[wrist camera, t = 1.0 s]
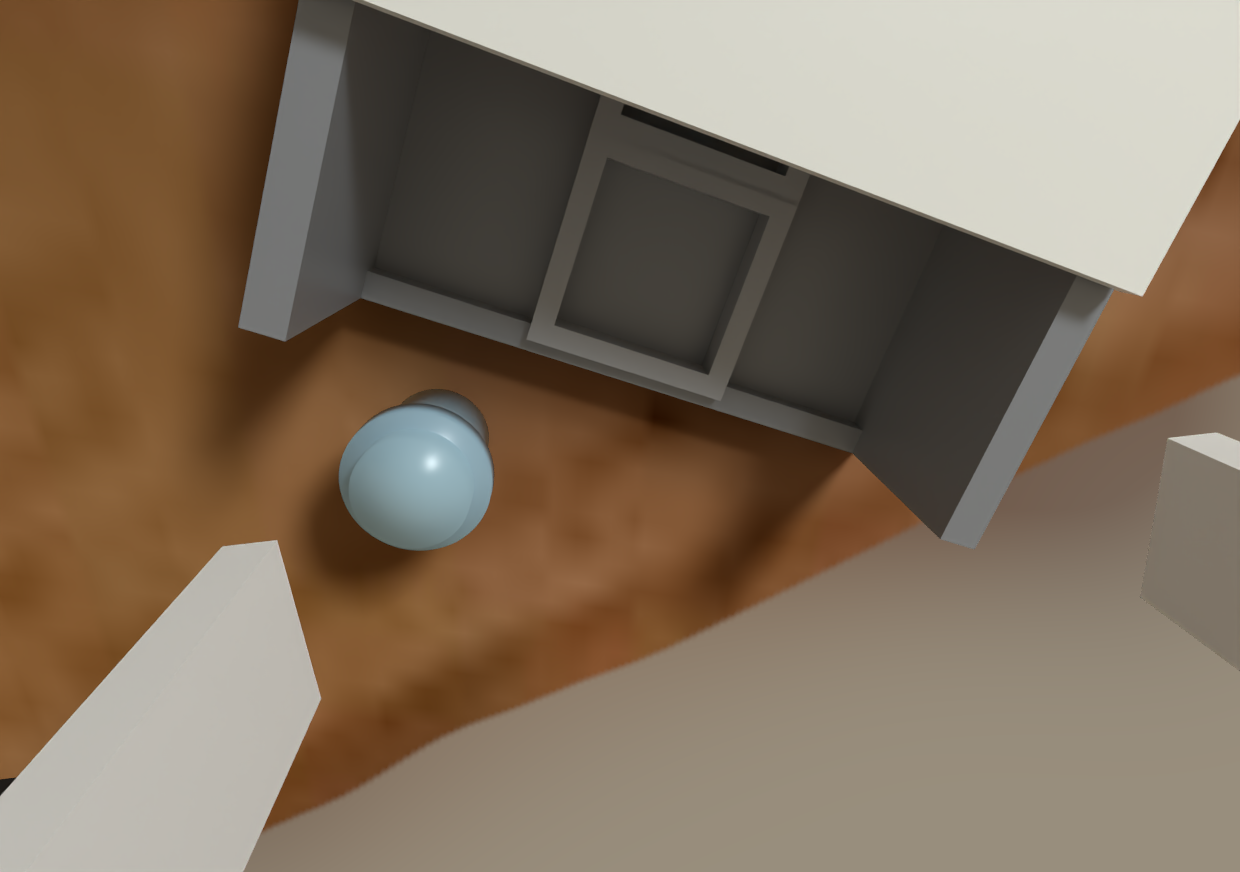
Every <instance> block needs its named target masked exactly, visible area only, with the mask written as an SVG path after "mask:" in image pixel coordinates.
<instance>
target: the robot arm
mask: <svg viewBox="0 0 1240 872" xmlns="http://www.w3.org/2000/svg"><path fill="white" fill-rule="evenodd" d="M1140 598H1142V599H1143V600H1144V601H1146V602H1147V603H1148V604H1150V605H1151V606H1153V607H1154V608H1155V609H1156V610H1158V611H1159V612H1161V613H1162V614H1163V615H1165V616H1166V617H1168V618H1169V619H1170V620H1171V621H1173V622H1174V623H1175V624H1177V625H1178V626H1179V627H1181V628H1182V629H1184V630H1185V631H1186V632H1188V633H1189V634H1190V635H1192V636H1193V637H1194V638H1196V639H1197V640H1199V641H1200V642H1201V643H1202V644H1204V645H1205V646H1207V647H1208V648H1209V649H1211V650H1212V651H1213V652H1215V653H1216V654H1217V655H1219V656H1220V657H1221V658H1223V659H1224V660H1225V661H1227V662H1228V663H1229V664H1231V665H1232V666H1234V667H1235V668H1236V669H1238V670H1239V671H1240V442H1239V441H1237V440H1234V439H1232V438H1229V437H1227V436H1224V435H1222V434H1219V433H1209V434H1200V435H1192V436H1182V437H1174V438H1168V439H1167V445H1166V450H1165V456H1164V462H1163V468H1162V474H1161V480H1160V485H1159V491H1158V497H1157V503H1156V508H1155V514H1154V520H1153V526H1152V532H1151V538H1150V543H1149V549H1148V555H1147V561H1146V567H1145V573H1144V578H1143V584H1142V591H1141V596H1140ZM320 700H321V697H320V693H319V689H318V686H317V682H316V679H315V675H314V671H313V668H312V664H311V661H310V657H309V653H308V650H307V646H306V643H305V639H304V635H303V632H302V628H301V625H300V621H299V617H298V614H297V610H296V607H295V603H294V599H293V596H292V592H291V589H290V585H289V581H288V578H287V574H286V571H285V567H284V563H283V560H282V556H281V553H280V549H279V545H278V542H277V540H275V541H266V542H258V543H249V544H240V545H232V546H223V547H221V549H220V550H219V551H218V552H217V553H216V554H215V555H214V556H213V558H212V559H211V560H210V561H209V562H208V563H207V564H206V565H205V567H204V568H203V569H202V570H201V571H200V572H199V573H198V574H197V576H196V577H195V578H194V579H193V580H192V581H191V582H190V583H189V585H188V586H187V587H186V588H185V589H184V590H183V591H182V592H181V594H180V595H179V596H178V597H177V598H176V599H175V600H174V601H173V603H172V604H171V605H170V606H169V607H168V608H167V609H166V610H165V612H164V613H163V614H162V615H161V616H160V617H159V618H158V619H157V621H156V622H155V623H154V624H153V625H152V626H151V627H150V628H149V630H148V631H147V632H146V633H145V634H144V635H143V636H142V637H141V639H140V640H139V641H138V642H137V643H136V644H135V645H134V646H133V647H132V649H131V650H130V651H129V652H128V653H127V654H126V655H125V656H124V658H123V659H122V660H121V661H120V662H119V663H118V664H117V665H116V667H115V668H114V669H113V670H112V671H111V672H110V673H109V674H108V676H107V677H106V678H105V679H104V680H103V681H102V682H101V683H100V685H99V686H98V687H97V688H96V689H95V690H94V691H93V692H92V694H91V695H90V696H89V697H88V698H87V699H86V700H85V701H84V703H83V704H82V705H81V706H80V707H79V708H78V709H77V710H76V712H75V713H74V714H73V715H72V716H71V717H70V718H69V719H68V721H67V722H66V723H65V724H64V725H63V726H62V727H61V728H60V730H59V731H58V732H57V733H56V734H55V735H54V736H53V737H52V739H51V740H50V741H49V742H48V743H47V744H46V745H45V746H44V748H43V749H42V750H41V751H40V752H39V753H38V754H37V755H36V757H35V758H34V759H33V760H32V761H31V762H30V763H29V764H28V765H27V767H26V768H25V769H24V770H23V771H22V772H21V773H20V774H19V776H18V777H17V778H9V779H1V780H0V872H243V871H244V869H245V867H246V865H247V862H248V860H249V858H250V856H251V854H252V851H253V849H254V847H255V844H256V842H257V840H258V838H259V836H260V834H261V831H262V829H263V827H264V825H265V822H266V820H267V818H268V816H269V813H270V811H271V809H272V807H273V805H274V802H275V800H276V798H277V796H278V793H279V791H280V789H281V787H282V784H283V782H284V780H285V778H286V776H287V773H288V771H289V769H290V767H291V764H292V762H293V760H294V758H295V756H296V753H297V751H298V749H299V747H300V744H301V742H302V740H303V738H304V735H305V733H306V731H307V729H308V727H309V724H310V722H311V720H312V718H313V715H314V713H315V711H316V709H317V707H318V704H319V702H320Z"/></svg>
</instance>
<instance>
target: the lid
mask: <svg viewBox="0 0 1240 872" xmlns="http://www.w3.org/2000/svg"><path fill="white" fill-rule="evenodd" d="M353 1H355V2H358V3H361V4H363V5H366V6H368V7H371V8H374V9H376V10H379V11H382V12H384V13H387V14H390V15H392V16H395V17H397V18H400V19H403V20H405V21H408V22H411V23H413V24H416V25H419V26H421V27H424V28H426V29H429V30H432V31H434V32H437V33H440V34H442V35H445V36H448V37H450V38H453V39H455V40H458V41H461V42H463V43H466V44H469V45H471V46H474V47H477V48H479V49H482V50H484V51H487V52H490V53H492V54H495V55H498V56H500V57H503V58H506V59H508V60H511V61H513V62H516V63H519V64H521V65H524V66H527V67H529V68H532V69H535V70H537V71H540V72H542V73H545V74H548V75H550V76H553V77H556V78H558V79H561V80H564V81H566V82H569V83H571V84H574V85H577V86H579V87H582V88H585V89H587V90H590V91H593V92H595V93H598V94H600V95H603V96H606V97H608V98H611V99H614V100H616V101H619V102H622V103H624V104H627V105H629V106H632V107H635V108H637V109H640V110H643V111H645V112H648V113H651V114H653V115H656V116H658V117H661V118H664V119H666V120H669V121H672V122H674V123H677V124H680V125H682V126H685V127H687V128H690V129H693V130H695V131H698V132H701V133H703V134H706V135H709V136H711V137H714V138H716V139H719V140H722V141H724V142H727V143H730V144H732V145H735V146H738V147H740V148H743V149H745V150H748V151H751V152H753V153H756V154H759V155H761V156H764V157H767V158H769V159H772V160H774V161H777V162H780V163H782V164H785V165H788V166H790V167H793V168H796V169H798V170H801V171H803V172H806V173H809V174H811V175H814V176H817V177H819V178H822V179H825V180H827V181H830V182H832V183H835V184H838V185H840V186H843V187H846V188H848V189H851V190H854V191H856V192H859V193H861V194H864V195H867V196H869V197H872V198H875V199H877V200H880V201H883V202H885V203H888V204H890V205H893V206H896V207H898V208H901V209H904V210H906V211H909V212H912V213H914V214H917V215H919V216H922V217H925V218H927V219H930V220H933V221H935V222H938V223H941V224H943V225H946V226H948V227H951V228H954V229H956V230H959V231H962V232H964V233H967V234H970V235H972V236H975V237H977V238H980V239H983V240H985V241H988V242H991V243H993V244H996V245H999V246H1001V247H1004V248H1006V249H1009V250H1012V251H1014V252H1017V253H1020V254H1022V255H1025V256H1028V257H1030V258H1033V259H1035V260H1038V261H1041V262H1043V263H1046V264H1049V265H1051V266H1054V267H1057V268H1059V269H1062V270H1064V271H1067V272H1070V273H1072V274H1075V275H1078V276H1080V277H1083V278H1086V279H1088V280H1091V281H1093V282H1096V283H1099V284H1101V285H1104V286H1107V287H1109V288H1112V289H1115V290H1117V291H1120V292H1124V293H1128V294H1133V295H1138V296H1143V294H1144V293H1145V291H1146V289H1147V287H1148V285H1149V283H1150V282H1151V280H1152V278H1153V276H1154V274H1155V273H1156V271H1157V269H1158V267H1159V265H1160V263H1161V262H1162V260H1163V258H1164V256H1165V254H1166V253H1167V251H1168V249H1169V247H1170V245H1171V243H1172V242H1173V240H1174V238H1175V236H1176V234H1177V233H1178V231H1179V229H1180V227H1181V225H1182V223H1183V222H1184V220H1185V218H1186V216H1187V214H1188V213H1189V211H1190V209H1191V207H1192V205H1193V203H1194V202H1195V200H1196V198H1197V196H1198V194H1199V192H1200V191H1201V189H1202V187H1203V185H1204V183H1205V182H1206V180H1207V178H1208V176H1209V174H1210V172H1211V171H1212V169H1213V167H1214V165H1215V163H1216V162H1217V160H1218V158H1219V156H1220V154H1221V152H1222V151H1223V149H1224V147H1225V145H1226V143H1227V142H1228V140H1229V138H1230V136H1231V134H1232V132H1233V131H1234V129H1235V127H1236V125H1237V123H1238V122H1239V120H1240V0H353Z"/></svg>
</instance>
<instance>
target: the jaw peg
mask: <svg viewBox="0 0 1240 872" xmlns="http://www.w3.org/2000/svg"><path fill="white" fill-rule="evenodd" d="M488 444H489V432H488V427H487V424H486V421H485V419H484V417H483V415H482V413H481V412H480V410H479V409H478V408H477V407H476V406H475V405H474V404H473V403H472V402H471V401H470V400H468V399H467V398H465V397H464V396H462V395H460V394H458V393H455V392H452V391H448V390H442V389H431V390H425V391H421V392H418V393H416V394H414V395H412V396H410V397H409V398H407V399H406V400H405V401H404V402H403V403H402V404H401V405H398V406H394V407H391V408H388V409H386V410H384V411H381V412H380V413H378V414H376V415H375V416H373V417H372V418H371V419H370V420H368V421H367V422H366V423H365V424H364V425H363V426H362V427H361V428H360V430H359V431H358V432H357V433H356V434H355V436H354V437H353V438H352V439H351V441H350V442H349V444H348V445H347V447H346V449H345V451H344V453H343V456H342V459H341V462H340V468H339V485H340V491H341V495H342V498H343V501H344V503H345V505H346V508H347V509H348V511H349V513H350V514H351V516H352V517H353V518H354V520H355V521H356V522H357V523H358V524H359V525H360V526H361V527H362V528H363V529H364V530H365V531H366V532H368V533H369V534H370V535H371V536H373V537H375V538H376V539H378V540H380V541H382V542H384V543H386V544H388V545H391V546H394V547H397V548H402V549H407V550H417V551H419V550H432V549H438V548H442V547H445V546H448V545H450V544H453V543H455V542H457V541H458V540H460V539H462V538H463V537H465V536H466V535H467V534H469V533H470V532H471V531H472V530H473V529H474V528H475V527H476V526H477V524H478V523H479V522H480V521H481V519H482V517H483V516H484V514H485V512H486V510H487V507H488V505H489V501H490V497H491V493H492V489H493V484H494V465H493V460H492V456H491V454H490V451H489V448H488Z"/></svg>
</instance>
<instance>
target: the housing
mask: <svg viewBox="0 0 1240 872" xmlns="http://www.w3.org/2000/svg"><path fill="white" fill-rule="evenodd" d="M1113 290H1114V289H1112V288H1109V287H1107V286H1104V285H1101V284H1099V283H1096V282H1093V281H1091V280H1088V279H1086V278H1083V277H1080V276H1078V275H1075V274H1072V273H1070V272H1067V271H1064V270H1062V269H1059V268H1057V267H1054V266H1051V265H1049V264H1046V263H1043V262H1041V261H1038V260H1035V259H1033V258H1030V257H1028V256H1025V255H1022V254H1020V253H1017V252H1014V251H1012V250H1009V249H1006V248H1004V247H1001V246H999V245H996V244H993V243H991V242H988V241H985V240H983V239H980V238H977V237H975V236H972V235H970V234H967V233H964V232H962V231H959V230H956V229H954V228H951V227H948V226H946V225H943V224H941V223H938V222H935V221H933V220H930V219H927V218H925V217H922V216H919V215H917V214H914V213H912V212H909V211H906V210H904V209H901V208H898V207H896V206H893V205H890V204H888V203H885V202H883V201H880V200H877V199H875V198H872V197H869V196H867V195H864V194H861V193H859V192H856V191H854V190H851V189H848V188H846V187H843V186H840V185H838V184H835V183H832V182H830V181H827V180H825V179H822V178H819V177H817V176H814V175H811V174H809V173H806V172H803V171H801V170H798V169H796V168H793V167H790V166H788V165H785V164H782V163H780V162H777V161H774V160H772V159H769V158H767V157H764V156H761V155H759V154H756V153H753V152H751V151H748V150H745V149H743V148H740V147H738V146H735V145H732V144H730V143H727V142H724V141H722V140H719V139H716V138H714V137H711V136H709V135H706V134H703V133H701V132H698V131H695V130H693V129H690V128H687V127H685V126H682V125H680V124H677V123H674V122H672V121H669V120H666V119H664V118H661V117H658V116H656V115H653V114H651V113H648V112H645V111H643V110H640V109H637V108H635V107H632V106H629V105H627V104H624V103H622V102H619V101H616V100H614V99H611V98H608V97H606V96H603V95H600V94H598V93H595V92H593V91H590V90H587V89H585V88H582V87H579V86H577V85H574V84H571V83H569V82H566V81H564V80H561V79H558V78H556V77H553V76H550V75H548V74H545V73H542V72H540V71H537V70H535V69H532V68H529V67H527V66H524V65H521V64H519V63H516V62H513V61H511V60H508V59H506V58H503V57H500V56H498V55H495V54H492V53H490V52H487V51H484V50H482V49H479V48H477V47H474V46H471V45H469V44H466V43H463V42H461V41H458V40H455V39H453V38H450V37H448V36H445V35H442V34H440V33H437V32H434V31H432V30H429V29H426V28H424V27H421V26H419V25H416V24H413V23H411V22H408V21H405V20H403V19H400V18H397V17H395V16H392V15H390V14H387V13H384V12H382V11H379V10H376V9H374V8H371V7H368V6H366V5H363V4H361V3H358V2H355V1H353V0H299V2H298V7H297V13H296V18H295V24H294V29H293V34H292V40H291V45H290V50H289V56H288V61H287V67H286V72H285V77H284V83H283V88H282V94H281V99H280V104H279V110H278V115H277V121H276V126H275V131H274V137H273V142H272V148H271V153H270V158H269V164H268V169H267V175H266V180H265V185H264V191H263V196H262V202H261V207H260V212H259V218H258V223H257V229H256V234H255V239H254V245H253V250H252V256H251V261H250V266H249V272H248V277H247V283H246V288H245V293H244V299H243V304H242V310H241V315H240V320H239V326H238V328H242V329H245V330H248V331H252V332H255V333H258V334H262V335H265V336H268V337H272V338H275V339H278V340H282V341H287V340H289V339H291V338H292V337H294V336H296V335H298V334H299V333H301V332H303V331H304V330H306V329H308V328H310V327H311V326H313V325H315V324H317V323H318V322H320V321H322V320H324V319H325V318H327V317H329V316H330V315H332V314H334V313H336V312H337V311H339V310H341V309H343V308H344V307H346V306H348V305H350V304H351V303H353V302H355V301H357V300H358V299H360V298H362V299H366V300H369V301H372V302H375V303H378V304H381V305H385V306H388V307H391V308H394V309H397V310H400V311H404V312H407V313H410V314H413V315H416V316H419V317H423V318H426V319H429V320H432V321H435V322H438V323H442V324H445V325H448V326H451V327H454V328H457V329H461V330H464V331H467V332H470V333H473V334H476V335H480V336H483V337H486V338H489V339H492V340H495V341H499V342H502V343H505V344H508V345H511V346H514V347H518V348H521V349H524V350H527V351H530V352H533V353H537V354H540V355H543V356H546V357H549V358H552V359H556V360H559V361H562V362H565V363H568V364H571V365H575V366H578V367H581V368H584V369H587V370H590V371H594V372H597V373H600V374H603V375H606V376H609V377H613V378H616V379H619V380H622V381H625V382H628V383H632V384H635V385H638V386H641V387H644V388H647V389H651V390H654V391H657V392H660V393H663V394H666V395H670V396H673V397H676V398H679V399H682V400H685V401H688V402H692V403H695V404H698V405H701V406H704V407H707V408H711V409H714V410H717V411H720V412H723V413H726V414H730V415H733V416H736V417H739V418H742V419H745V420H749V421H752V422H755V423H758V424H761V425H764V426H768V427H771V428H774V429H777V430H780V431H783V432H787V433H790V434H793V435H796V436H799V437H802V438H806V439H809V440H812V441H815V442H818V443H821V444H825V445H828V446H831V447H834V448H837V449H840V450H844V451H847V452H850V453H853V454H854V455H855V456H856V457H857V458H858V459H859V460H860V461H861V462H862V463H863V464H864V465H865V466H866V467H867V468H868V469H869V470H870V471H871V472H872V473H873V474H874V475H875V476H876V477H877V478H878V479H879V480H880V481H881V482H882V483H883V484H884V485H886V486H887V487H888V488H889V489H890V490H891V491H892V492H893V493H894V494H895V495H896V496H897V497H898V498H899V499H900V500H901V501H902V502H903V503H904V504H905V505H906V506H907V507H908V508H909V509H910V510H911V511H912V512H913V513H914V514H915V515H916V516H917V517H918V518H919V519H920V520H921V521H922V522H923V523H924V524H925V525H926V526H927V527H928V528H930V529H931V530H932V531H933V532H934V533H935V534H936V535H937V536H938V537H939V538H940V539H942V540H945V541H948V542H952V543H955V544H958V545H962V546H965V547H968V548H972V549H975V547H976V546H977V544H978V542H979V540H980V538H981V536H982V535H983V533H984V531H985V529H986V527H987V525H988V523H989V522H990V520H991V518H992V516H993V514H994V512H995V510H996V508H997V507H998V505H999V503H1000V501H1001V499H1002V497H1003V495H1004V493H1005V492H1006V490H1007V488H1008V486H1009V484H1010V482H1011V481H1012V479H1013V477H1014V475H1015V473H1016V471H1017V469H1018V467H1019V466H1020V464H1021V462H1022V460H1023V458H1024V456H1025V454H1026V453H1027V451H1028V449H1029V447H1030V445H1031V443H1032V441H1033V440H1034V438H1035V436H1036V434H1037V432H1038V430H1039V428H1040V426H1041V425H1042V423H1043V421H1044V419H1045V417H1046V415H1047V413H1048V412H1049V410H1050V408H1051V406H1052V404H1053V402H1054V400H1055V399H1056V397H1057V395H1058V393H1059V391H1060V389H1061V387H1062V385H1063V384H1064V382H1065V380H1066V378H1067V376H1068V374H1069V372H1070V371H1071V369H1072V367H1073V365H1074V363H1075V361H1076V359H1077V358H1078V356H1079V354H1080V352H1081V350H1082V348H1083V346H1084V344H1085V343H1086V341H1087V339H1088V337H1089V335H1090V333H1091V331H1092V330H1093V328H1094V326H1095V324H1096V322H1097V320H1098V318H1099V317H1100V315H1101V313H1102V311H1103V309H1104V307H1105V305H1106V303H1107V302H1108V300H1109V298H1110V296H1111V294H1112V292H1113Z"/></svg>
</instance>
